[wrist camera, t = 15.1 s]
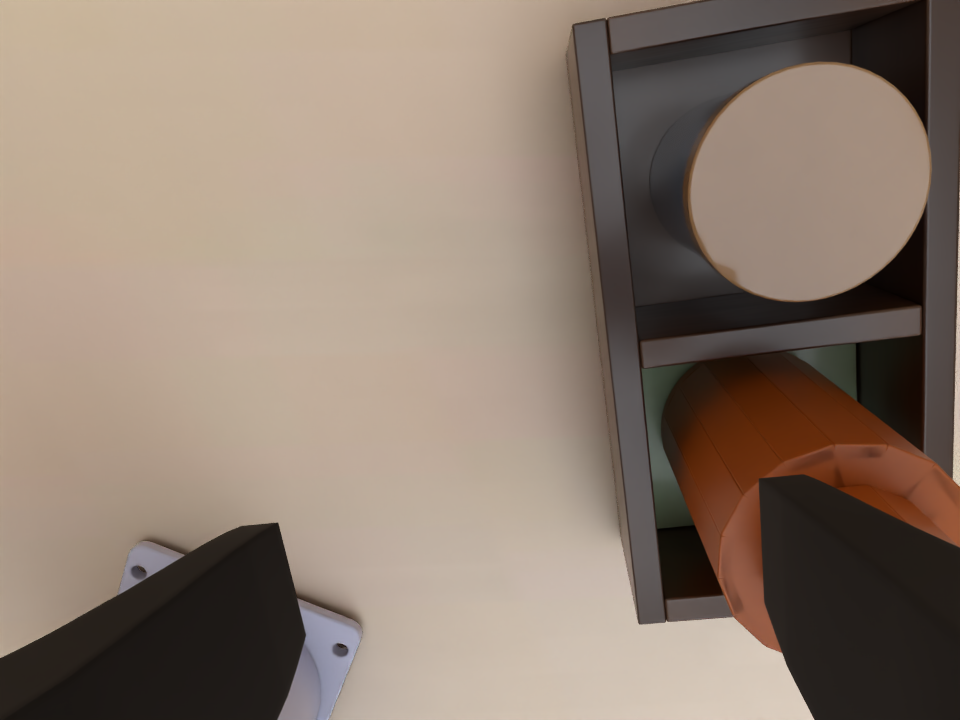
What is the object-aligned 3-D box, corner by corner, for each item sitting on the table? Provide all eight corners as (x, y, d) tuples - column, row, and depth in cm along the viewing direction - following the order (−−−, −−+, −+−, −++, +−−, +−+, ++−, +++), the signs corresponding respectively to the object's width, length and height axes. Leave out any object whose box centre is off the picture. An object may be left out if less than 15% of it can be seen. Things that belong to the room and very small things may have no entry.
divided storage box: (621, 540, 22) (638, 625, 18) (565, 52, 18) (571, 23, 14) (874, 517, 21) (951, 601, 17) (869, -2, 17) (967, -50, 13)
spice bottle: (782, 523, 20) (943, 769, 12) (633, 465, 20) (695, 675, 12) (864, 381, 19) (1106, 553, 11) (705, 319, 19) (829, 444, 11)
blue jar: (765, 284, 19) (855, 336, 13) (618, 224, 18) (649, 252, 13) (846, 128, 17) (982, 115, 12) (689, 64, 17) (755, 22, 12)
